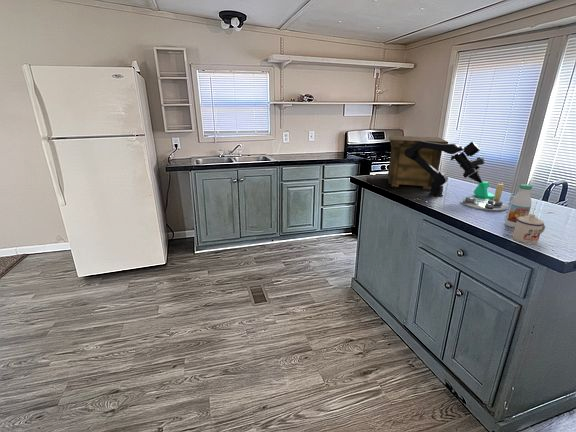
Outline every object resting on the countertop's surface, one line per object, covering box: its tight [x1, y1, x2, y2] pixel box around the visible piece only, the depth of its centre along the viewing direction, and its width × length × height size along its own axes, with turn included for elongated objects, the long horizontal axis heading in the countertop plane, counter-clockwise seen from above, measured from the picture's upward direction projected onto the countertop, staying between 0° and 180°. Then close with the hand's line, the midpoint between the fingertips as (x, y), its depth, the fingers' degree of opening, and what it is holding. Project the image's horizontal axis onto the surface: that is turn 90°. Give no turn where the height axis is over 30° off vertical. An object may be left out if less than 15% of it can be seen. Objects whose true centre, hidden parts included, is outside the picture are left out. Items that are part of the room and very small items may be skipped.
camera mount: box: [473, 181, 495, 200], centre depth 189 cm, size 12×8×10 cm, turn 1°
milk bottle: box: [505, 183, 533, 229], centre depth 140 cm, size 8×8×20 cm
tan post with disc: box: [487, 183, 505, 206], centre depth 167 cm, size 16×7×11 cm, turn 141°
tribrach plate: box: [461, 196, 508, 212], centre depth 174 cm, size 22×22×3 cm
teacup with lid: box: [512, 213, 546, 244], centre depth 126 cm, size 12×9×12 cm
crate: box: [387, 135, 449, 190], centre depth 219 cm, size 35×35×33 cm
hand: (481, 182), depth 176 cm, fingers closed
